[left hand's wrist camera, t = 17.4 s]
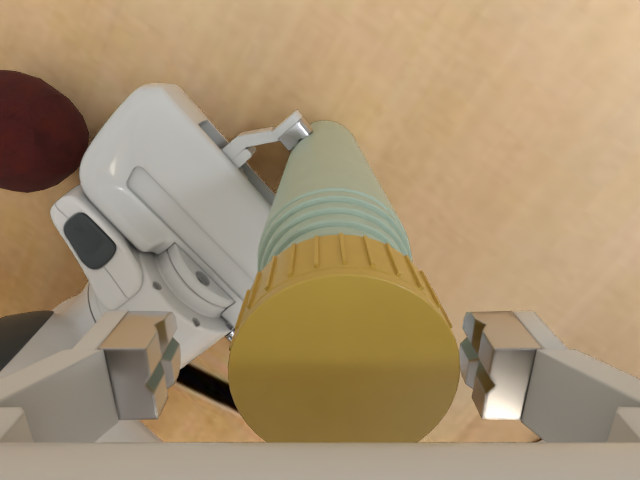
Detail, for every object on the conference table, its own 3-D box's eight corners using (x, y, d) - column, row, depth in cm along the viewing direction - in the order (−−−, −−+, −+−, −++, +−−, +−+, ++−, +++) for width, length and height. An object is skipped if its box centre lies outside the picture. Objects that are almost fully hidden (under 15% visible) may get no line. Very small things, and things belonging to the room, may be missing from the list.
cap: (305, 424, 11) (302, 497, 9) (203, 290, 10) (175, 343, 8) (466, 351, 10) (499, 413, 8) (380, 193, 9) (397, 225, 7)
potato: (-18, 66, 29) (-117, 65, 22) (100, 73, 29) (35, 74, 22) (6, 175, 31) (-77, 203, 25) (113, 181, 32) (59, 210, 25)
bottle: (279, 142, 31) (175, 329, 8) (336, 107, 30) (391, 208, 7) (314, 197, 32) (304, 482, 10) (369, 165, 31) (498, 395, 9)
